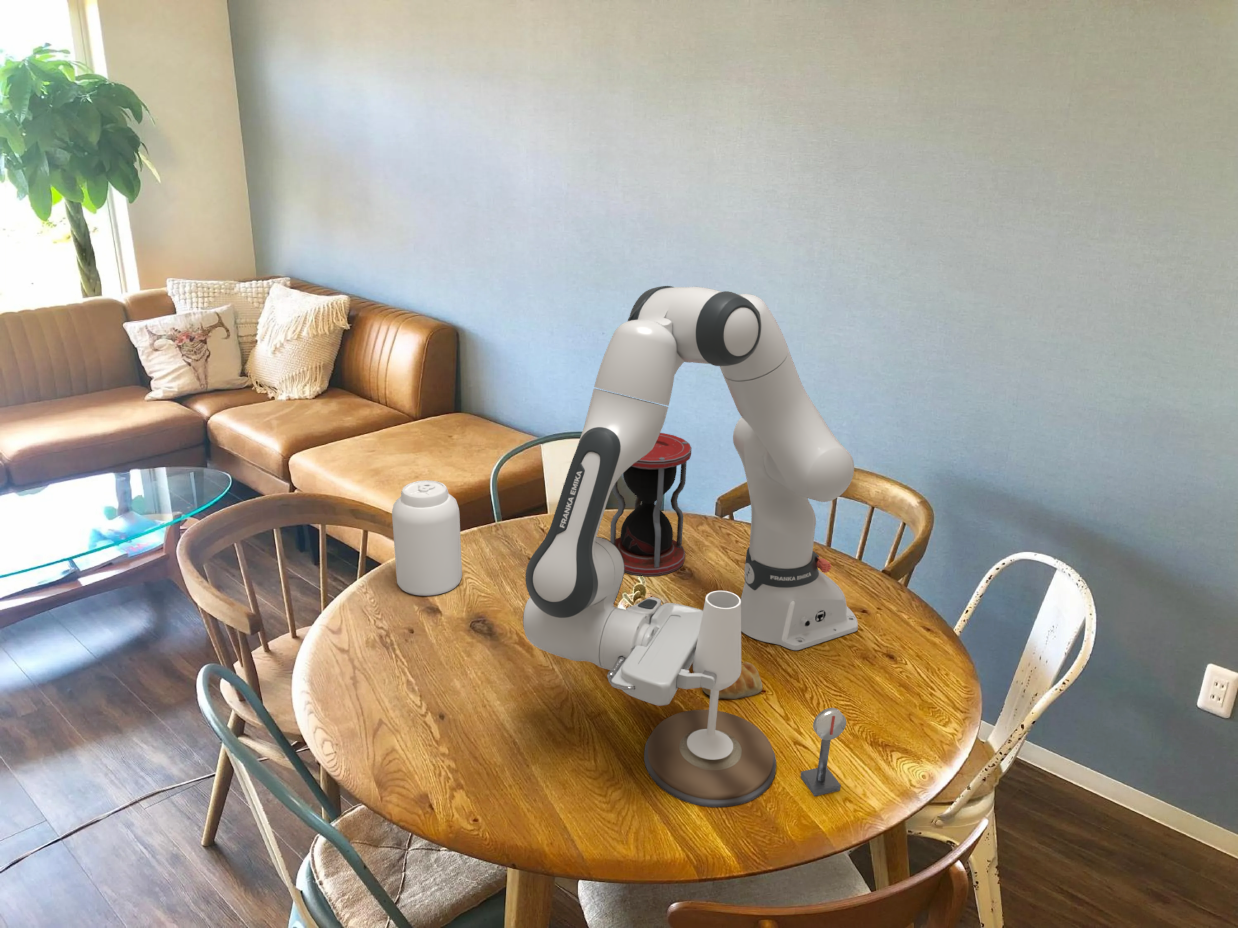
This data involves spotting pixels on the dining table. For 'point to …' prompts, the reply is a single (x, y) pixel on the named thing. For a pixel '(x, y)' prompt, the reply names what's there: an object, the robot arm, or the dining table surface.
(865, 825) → the dining table surface
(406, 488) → the can
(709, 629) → the champagne flute
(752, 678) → the pastry
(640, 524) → the hourglass
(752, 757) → the turntable
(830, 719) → the dial gauge
